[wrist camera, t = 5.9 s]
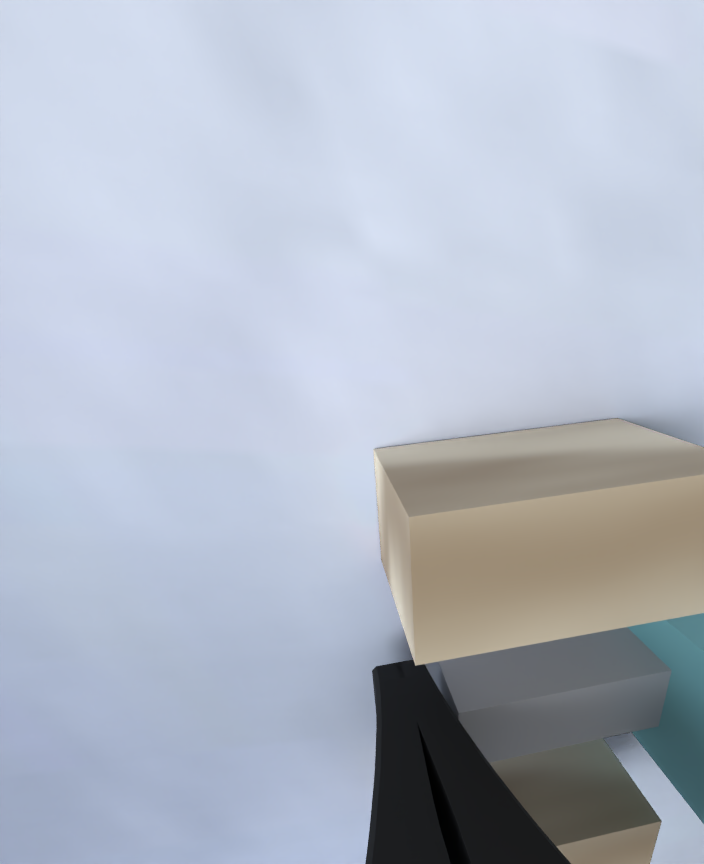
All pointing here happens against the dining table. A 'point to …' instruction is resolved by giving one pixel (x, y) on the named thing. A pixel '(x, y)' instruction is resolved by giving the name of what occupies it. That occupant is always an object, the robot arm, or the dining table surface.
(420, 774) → the robot arm
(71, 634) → the dining table surface
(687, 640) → the plug
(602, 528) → the channel
